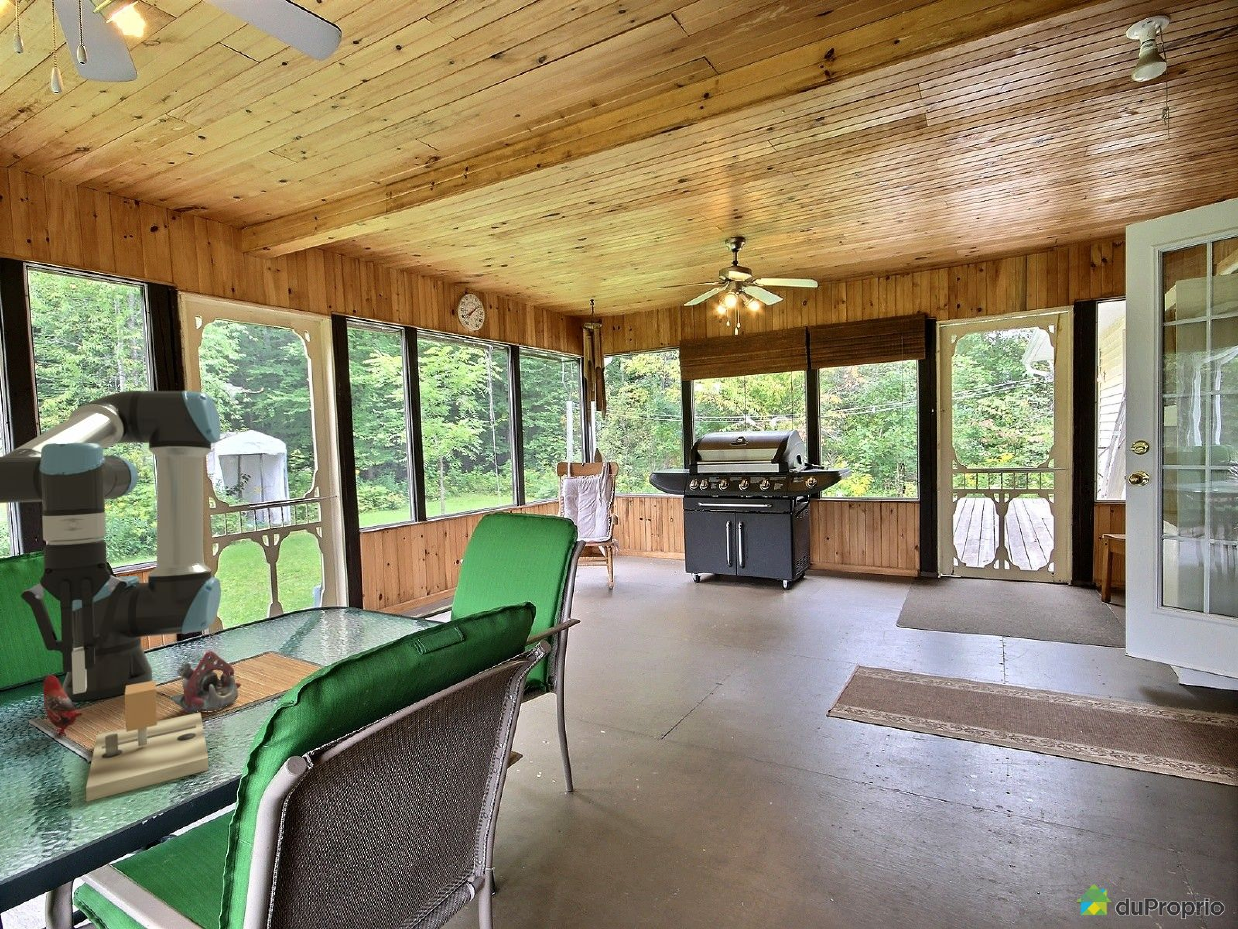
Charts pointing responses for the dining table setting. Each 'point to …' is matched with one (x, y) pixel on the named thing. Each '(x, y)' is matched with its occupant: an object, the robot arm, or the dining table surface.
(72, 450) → the robot arm
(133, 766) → the wooden peg board
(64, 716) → the decorative bird figurine
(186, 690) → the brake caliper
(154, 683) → the tan block on peg
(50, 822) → the dining table surface
